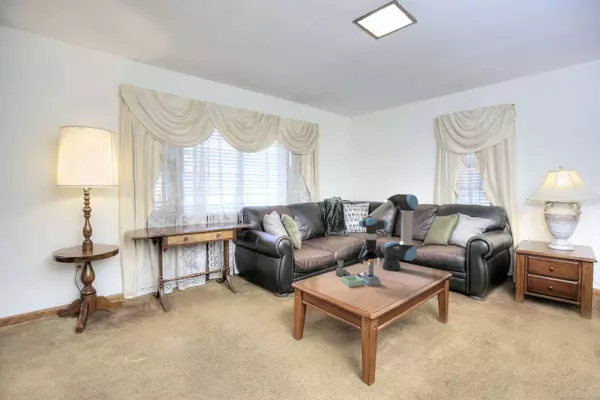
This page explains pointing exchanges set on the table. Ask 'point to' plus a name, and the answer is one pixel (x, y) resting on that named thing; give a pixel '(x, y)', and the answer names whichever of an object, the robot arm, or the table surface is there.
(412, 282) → the table surface
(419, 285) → the table surface
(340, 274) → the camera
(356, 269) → the table surface
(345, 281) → the tray
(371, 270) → the orange and grey cylinder
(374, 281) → the block
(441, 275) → the table surface
